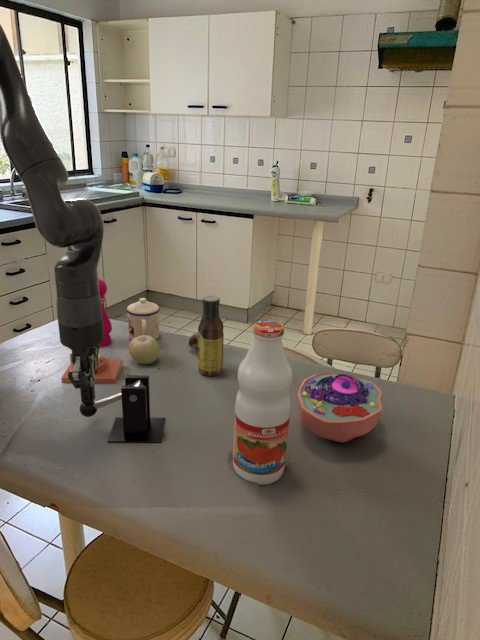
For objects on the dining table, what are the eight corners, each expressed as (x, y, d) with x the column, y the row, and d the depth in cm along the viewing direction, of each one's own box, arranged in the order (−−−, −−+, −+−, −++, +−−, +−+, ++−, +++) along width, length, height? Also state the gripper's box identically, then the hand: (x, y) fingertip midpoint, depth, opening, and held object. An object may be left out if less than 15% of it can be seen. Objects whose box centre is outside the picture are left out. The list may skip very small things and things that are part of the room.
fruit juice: (279, 451, 88) (292, 314, 78) (288, 486, 80) (304, 337, 69) (230, 452, 87) (236, 314, 77) (234, 487, 79) (241, 337, 68)
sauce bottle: (204, 363, 120) (205, 291, 112) (226, 368, 118) (229, 295, 110) (193, 374, 114) (193, 299, 107) (216, 380, 112) (218, 303, 105)
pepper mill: (80, 343, 128) (73, 273, 121) (101, 335, 134) (96, 268, 126) (97, 350, 124) (91, 279, 117) (118, 341, 130) (114, 273, 122)
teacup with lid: (128, 331, 137) (126, 294, 133) (159, 329, 139) (158, 293, 134) (127, 348, 126) (125, 308, 122) (161, 347, 128) (160, 307, 124)
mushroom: (213, 349, 120) (209, 326, 122) (186, 356, 123) (182, 334, 124) (224, 352, 128) (220, 330, 129) (198, 358, 130) (194, 337, 131)
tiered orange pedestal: (62, 386, 107) (60, 371, 105) (74, 366, 116) (72, 351, 114) (114, 386, 107) (113, 371, 106) (122, 366, 117) (122, 352, 115)
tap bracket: (107, 446, 87) (103, 392, 83) (116, 422, 95) (112, 371, 90) (161, 447, 88) (159, 393, 83) (165, 422, 95) (164, 371, 91)
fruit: (159, 354, 124) (159, 327, 121) (159, 367, 117) (158, 339, 114) (130, 355, 123) (129, 327, 120) (128, 368, 116) (126, 339, 113)
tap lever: (83, 422, 88) (74, 409, 87) (87, 413, 91) (79, 400, 89) (145, 398, 86) (137, 385, 85) (147, 389, 89) (139, 376, 88)
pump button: (83, 366, 108) (82, 359, 108) (86, 359, 112) (86, 352, 111) (98, 366, 109) (98, 359, 108) (102, 359, 112) (101, 352, 111)
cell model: (274, 435, 93) (278, 386, 88) (321, 395, 108) (327, 352, 103) (352, 472, 83) (361, 419, 79) (392, 423, 98) (401, 376, 94)
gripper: (69, 303, 87) (78, 383, 94) (45, 331, 75) (57, 421, 81) (110, 304, 88) (115, 384, 94) (93, 332, 75) (100, 421, 82)
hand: (88, 401), depth 88 cm, fingers closed
